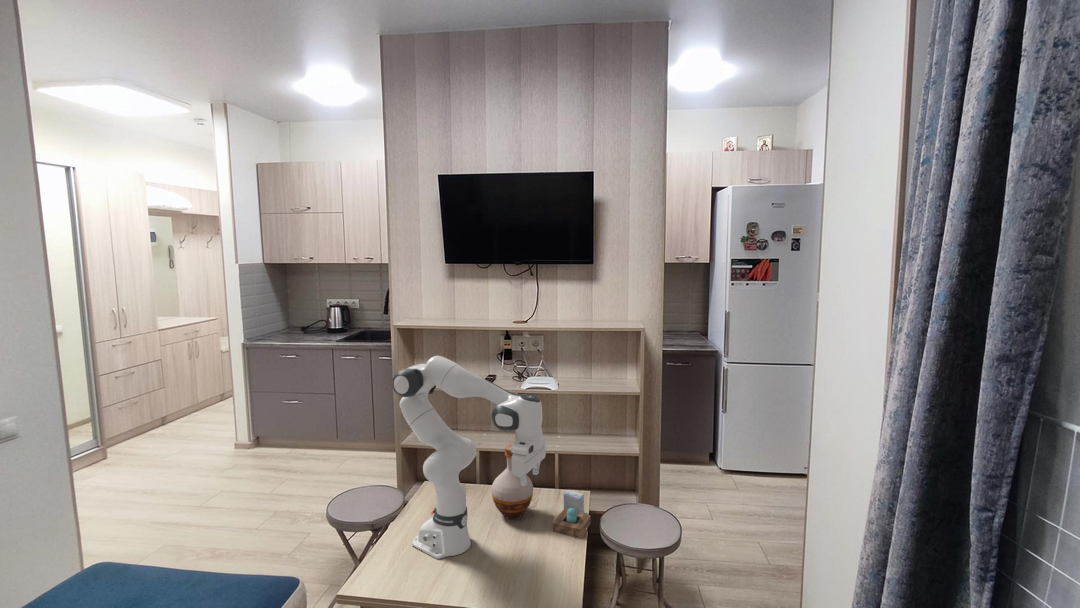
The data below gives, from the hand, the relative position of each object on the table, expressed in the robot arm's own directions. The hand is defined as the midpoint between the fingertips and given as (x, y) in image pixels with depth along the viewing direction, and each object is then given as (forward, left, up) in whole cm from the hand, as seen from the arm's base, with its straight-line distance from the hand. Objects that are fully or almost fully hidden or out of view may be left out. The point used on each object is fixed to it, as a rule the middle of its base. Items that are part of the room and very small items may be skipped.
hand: (529, 479), depth 165 cm
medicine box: (+2, +40, -31) cm, 51 cm away
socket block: (+5, +29, -31) cm, 43 cm away
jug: (-22, +29, -31) cm, 48 cm away
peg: (+5, +29, -31) cm, 43 cm away
